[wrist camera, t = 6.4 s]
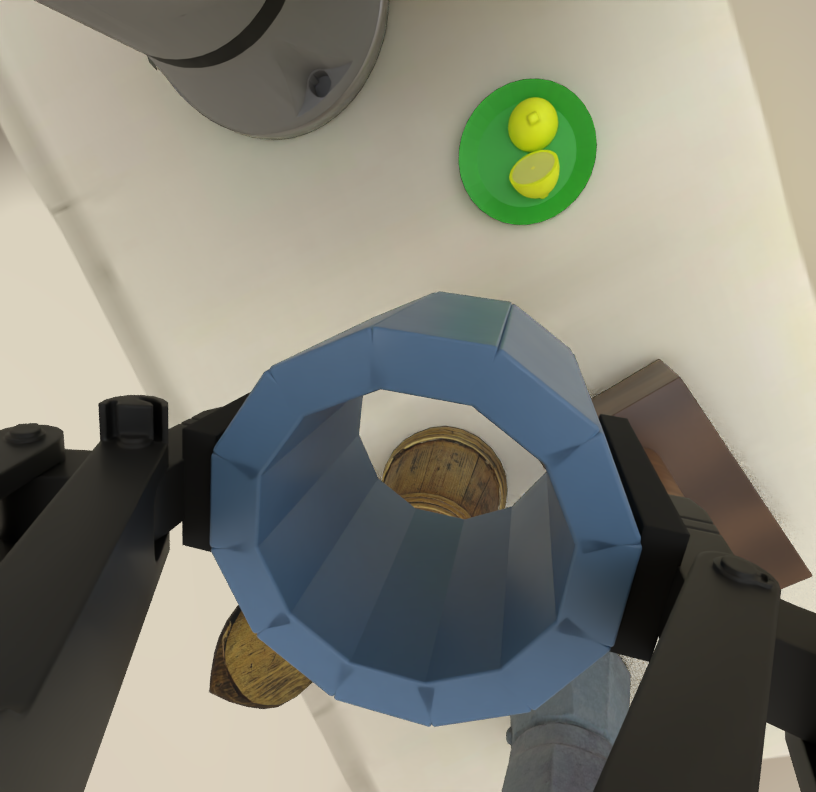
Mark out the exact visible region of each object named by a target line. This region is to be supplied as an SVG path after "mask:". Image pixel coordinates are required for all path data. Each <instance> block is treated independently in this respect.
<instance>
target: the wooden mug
mask: <svg viewBox="0 0 816 792" xmlns="http://www.w3.org/2000/svg"><path fill="white" fill-rule="evenodd" d="M382 482H383V483H385V484H386V485H387V486H388V487H390V488H391V489H392V490H393V491H394V492H396V493H397V494H398V495H399V496H401V497H402V498H403V499H404V500H406V501H407V502H408V503H409V504H411V505H412V506H413V507H414V508H416V509H420V510H425V511H429V512H434V513H438V514H443V515H448V516H452V517H457V518H461V519H468V518H472V517H475V516H479V515H483V514H486V513H490V512H494V511H498V510H501V509H504V508H505V505H506V496H507V484H506V475H505V473H504V470H503V467H502V464H501V462H500V460H499V459H498V457H497V456H496V455H495V453H494V452H493V450H492V449H491V448H490V447H489V446H488V445H487V444H485V443H484V442H483V441H482V440H481V439H480V438H478V437H477V436H475V435H472V434H470V433H468V432H466V431H464V430H462V429H457V428H452V427H448V426H444V427H435V428H429V429H427V430H424V431H421V432H418V433H416V434H414V435H412V436H411V437H409V438H407V439H406V440H404V441H403V442H402V443H401V444H400V445H399V446H398V447H397V448H396V449H395V450H394V451H393V453H392V455H391V457H390V458H389V460H388V462H387V464H386V466H385V470H384V473H383V478H382ZM311 683H312V681H311V680H310V679H309V678H307V677H306V676H305V675H304V674H302V673H301V672H300V671H299V670H297V669H296V668H295V667H294V666H292V665H291V664H290V663H289V662H287V661H286V660H285V659H284V658H282V657H281V656H280V655H279V654H277V653H276V652H275V651H274V650H273V649H271V648H270V647H269V646H268V645H266V644H265V643H264V642H263V641H261V640H260V639H259V638H258V637H257V633H253V632H252V630H251V628H250V626H249V624H248V622H247V620H246V618H245V616H244V614H243V612H242V610H241V608H240V606H239V605H238V606H237V607H236V609H235V610H234V612H233V613H232V614H231V616H230V617H229V618H228V620H227V621H226V623H225V625H224V628H223V630H222V632H221V634H220V636H219V639H218V642H217V645H216V649H215V652H214V658H213V664H212V670H211V677H210V690H209V692H210V693H212V694H214V695H216V696H218V697H220V698H223V699H225V700H227V701H229V702H232V703H236V704H239V705H243V706H246V707H252V708H259V709H267V708H275V707H279V706H280V705H282V704H284V703H286V702H288V701H289V700H291V699H293V698H295V697H297V696H298V695H299V694H300V693H301V692H302V691H303V690H305V689H306V688H307V687H308V686H309V685H310V684H311Z"/></svg>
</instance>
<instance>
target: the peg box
mask: <svg viewBox="0 0 816 792" xmlns="http://www.w3.org/2000/svg"><path fill="white" fill-rule="evenodd" d="M591 400H592V403H593V405H594V408H595V411H596V413H597V416H598V419H599V416H600V414H605V415H610V416H616V417H622V418H627V419H628V421H629V423H630V425H631V426H632V428H633V430H634V432H635V434H636V436H637V437H638V439H639V441H640V443H641V445H642V447H643V449H644V450H645V452H646V454H647V456H648V458H649V460H650V461H651V463H652V465H653V467H654V469H655V471H656V473H657V474H658V476H659V478H660V480H661V482H662V484H663V485H664V487H665V489H666V491H667V493H668V494H670V495H675V496H680V497H685V498H690V499H691V500H692V501H694V502H695V503H696V504H698V505H699V506H700V507H701V508H703V509H704V510H705V511H706V512H707V514H708V515H709V517H710V518H711V520H712V521H713V525H715V526H716V528H717V529H718V531H719V532H720V534H719V535H722V537H723V538H724V540H725V541H726V543H727V544H728V546H729V548H730V549H731V551H732V552H733V554H734V555H735V556H739V557H741V558H744V559H746V560H748V561H750V562H752V563H754V564H756V565H758V566H760V567H761V568H763V569H764V570H766V571H767V572H769V573H770V574H771V575H772V576H773V577H774V578H775V579H776V580H777V581H778V583H779V586H780V589H783V588H785V587H788V586H790V585H793V584H795V583H797V582H800V581H802V580H805V579H807V578H810V577H812V574H811V572H810V571H809V569H808V568H807V566H806V565H805V563H804V562H803V560H802V559H801V557H800V556H799V554H798V553H797V551H796V550H795V548H794V547H793V545H792V544H791V542H790V541H789V539H788V538H787V536H786V535H785V533H784V532H783V530H782V529H781V527H780V526H779V524H778V523H777V521H776V520H775V518H774V517H773V515H772V514H771V512H770V511H769V509H768V508H767V506H766V505H765V503H764V502H763V500H762V499H761V497H760V496H759V494H758V493H757V491H756V490H755V488H754V487H753V485H752V484H751V482H750V481H749V479H748V478H747V476H746V475H745V473H744V472H743V470H742V469H741V467H740V466H739V464H738V463H737V461H736V460H735V458H734V457H733V455H732V454H731V452H730V451H729V449H728V448H727V446H726V445H725V443H724V442H723V440H722V439H721V437H720V436H719V434H718V433H717V431H716V430H715V428H714V427H713V425H712V424H711V422H710V421H709V419H708V418H707V416H706V415H705V413H704V412H703V410H702V409H701V407H700V406H699V404H698V403H697V401H696V400H695V398H694V397H693V395H692V394H691V392H690V391H689V389H688V388H687V386H686V385H685V383H684V382H683V380H682V379H681V377H680V376H679V375H677V374H676V373H675V372H674V371H673V370H672V369H671V368H669V367H668V366H667V365H666V364H665V363H664V362H663V361H661V360H660V359H658V360H657V361H655V362H653V363H652V364H650V365H648V366H647V367H645V368H643V369H642V370H640V371H638V372H636V373H635V374H633V375H631V376H630V377H628V378H626V379H625V380H623V381H621V382H620V383H618V384H616V385H615V386H613V387H611V388H609V389H608V390H606V391H604V392H603V393H601V394H599V395H598V396H596V397H594V398H593V399H591ZM539 461H540V460H539ZM540 462H541V461H540ZM541 464H542V465H543V466H544V468H545V465H544V464H543V463H542V462H541ZM545 469H546V468H545ZM546 471H547V470H546Z"/></svg>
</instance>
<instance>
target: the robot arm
mask: <svg viewBox="0 0 816 792" xmlns="http://www.w3.org/2000/svg"><path fill="white" fill-rule="evenodd" d="M35 1H37V2H39V3H41V4H43V5H45V6H47V7H49V8H51V9H53V10H55V11H57V12H59V13H61V14H63V15H65V16H68V17H70V18H72V19H74V20H76V21H78V22H80V23H82V24H84V25H86V26H88V27H90V28H92V29H94V30H96V31H98V32H100V33H102V34H104V35H106V36H108V37H111V38H113V39H115V40H117V41H119V42H121V43H123V44H125V45H127V46H129V47H131V48H133V49H135V50H137V51H140V52H142V53H144V54H146V55H147V56H148V59H149V62H150V63H151V65H152V66H153V67H154V68H155V69H156V70H157V68H156V66H157V67H158V68H159V70H160V71H161V72H162V73H163V74H164V75H165V76H166V77H167V79H168V80H169V82H170V83H171V84H172V86H173V87H174V88H175V89H176V91H177V92H178V93H179V94H180V95H181V96H182V97H183V98H184V99H185V100H186V101H187V102H188V103H189V104H190V105H191V106H192V107H194V108H195V109H196V110H197V111H199V112H200V113H201V114H202V115H204V116H205V117H207V118H208V119H210V120H211V121H213V122H215V123H217V124H218V125H220V126H223V127H225V128H227V129H230V130H232V131H235V132H238V133H240V134H243V135H246V136H250V137H254V138H260V139H271V140H276V139H287V138H292V137H297V136H300V135H303V134H306V133H309V132H311V131H313V130H315V129H317V128H319V127H321V126H323V125H324V124H326V123H327V122H329V121H330V120H332V119H333V118H334V117H336V116H337V115H338V114H339V113H340V112H341V111H342V110H344V109H345V108H346V107H347V105H348V104H349V103H350V102H351V101H352V100H353V99H354V98H355V96H356V95H357V94H358V92H359V91H360V90H361V88H362V86H363V85H364V83H365V82H366V80H367V79H368V77H369V75H370V73H371V71H372V69H373V67H374V64H375V62H376V60H377V57H378V55H379V52H380V49H381V45H382V42H383V38H384V34H385V30H386V24H387V17H388V8H389V0H35ZM250 393H251V392H250ZM250 393H248V394H246V395H244V396H242V397H240V398H239V399H237V400H235V401H233V402H231V403H229V404H227V405H225V406H224V407H219V408H215V409H211V410H206V411H203V412H201V413H199V414H197V415H195V416H194V417H192V419H188V420H186V421H184V422H182V423H181V424H178V425H176V426H174V427H172V428H170V429H168V402H166V401H165V400H164V399H161V398H157V397H154V396H145V395H127V396H119V397H113V398H110V399H106V400H104V401H102V402H100V403H99V423H100V442H99V444H97V446H96V447H95V448H94V449H93V451H87V450H70V449H69V450H68V449H65V448H64V435H63V431H62V430H61V429H59V428H57V427H53V426H49V425H38V424H37V423H30V424H18V425H16V426H14V427H10V428H5V429H2V430H0V792H84V789H85V787H86V784H87V781H88V778H89V775H90V773H91V770H92V767H93V764H94V761H95V758H96V756H97V753H98V750H99V747H100V744H101V742H102V739H103V736H104V733H105V730H106V727H107V724H108V722H109V719H110V716H111V713H112V711H113V708H114V705H115V702H116V699H117V696H118V694H119V691H120V688H121V685H122V682H123V679H124V677H125V674H126V671H127V668H128V665H129V662H130V660H131V657H132V654H133V651H134V648H135V646H136V643H137V640H138V637H139V634H140V632H141V629H142V626H143V623H144V620H145V617H146V614H147V612H148V609H149V606H150V603H151V601H152V598H153V595H154V592H155V589H156V586H157V584H158V581H159V578H160V575H161V572H162V569H163V567H164V564H165V561H166V558H167V555H168V553H169V550H170V547H169V546H170V543H169V541H170V540H169V531H170V530H172V529H173V528H174V527H175V526H177V525H178V524H179V523H181V522H182V524H183V525H182V528H183V531H182V536H183V545H185V546H189V547H193V548H197V549H202V550H205V551H210V552H211V549H212V547H211V546H210V491H211V455H212V453H213V452H214V451H213V449H214V447H215V445H216V444H217V442H218V441H219V439H220V438H221V436H222V435H223V433H224V432H225V430H226V429H227V427H228V426H229V424H230V423H231V421H232V420H233V418H234V417H235V415H236V414H237V412H238V411H239V409H240V408H241V406H242V405H243V403H244V402H245V400H246V399H247V397H248V396H249V394H250ZM599 421H600V424H601V427H602V429H603V432H604V434H605V437H606V440H607V443H608V446H609V448H610V451H611V454H612V457H613V460H614V463H615V465H616V468H617V471H618V474H619V477H620V480H621V482H622V485H623V488H624V491H625V494H626V497H627V499H628V502H629V505H630V508H631V511H632V514H633V516H634V519H635V522H636V525H637V528H638V531H639V533H640V536H641V541H640V543H641V545H642V551H641V554H640V557H639V561H638V564H637V568H636V571H635V575H634V578H633V582H632V585H631V589H630V592H629V595H628V599H627V602H626V606H625V609H624V613H623V616H622V620H621V623H620V626H619V630H618V633H617V637H616V640H615V644H614V646H613V647H611V649H610V651H609V652H613V653H617V654H621V655H625V656H629V657H633V658H637V659H641V660H645V661H649V664H648V666H647V669H646V671H645V673H644V676H643V678H642V680H641V682H640V685H639V687H638V689H637V692H636V694H635V696H634V699H633V701H632V703H631V705H630V708H629V710H628V712H627V715H626V717H625V719H624V722H623V724H622V726H621V728H620V731H619V733H618V735H617V738H616V740H615V742H614V744H613V747H612V749H611V751H610V754H609V756H608V758H607V761H606V763H605V765H604V767H603V770H602V772H601V774H600V777H599V779H598V781H597V784H596V786H595V788H594V790H593V792H758V790H759V781H760V773H761V764H762V755H763V746H764V737H765V728H766V722H767V723H769V724H771V725H773V726H775V727H777V728H780V729H782V730H784V731H785V740H786V743H787V746H788V750H789V753H790V757H791V760H792V763H793V767H794V770H795V774H796V777H797V780H798V784H799V787H800V791H801V792H816V613H814V612H811V611H809V610H806V609H803V608H801V607H798V606H796V605H793V604H791V603H789V602H786V601H784V600H782V599H780V595H781V589H780V586H779V583H778V581H777V580H776V579H775V578H774V577H773V576H772V575H771V574H770V573H769V572H767V571H766V570H764V569H763V568H761V567H760V566H758V565H756V564H754V563H752V562H750V561H748V560H746V559H744V558H741V557H739V556H735V555H734V554H733V552H732V551H731V549H730V548H729V546H728V544H727V543H726V541H725V540H724V538H723V537H722V535H719V534H720V532H719V531H718V529H717V528H716V526H715V525H713V521H712V520H711V518H710V517H709V515H708V514H707V512H706V511H705V510H704V509H703V508H701V507H700V506H699V505H698V504H696V503H695V502H694V501H692V500H691V499H690V498H685V497H680V496H675V495H670V494H668V493H667V491H666V489H665V487H664V485H663V484H662V482H661V480H660V478H659V476H658V474H657V473H656V471H655V469H654V467H653V465H652V463H651V461H650V460H649V458H648V456H647V454H646V452H645V450H644V449H643V447H642V445H641V443H640V441H639V439H638V437H637V436H636V434H635V432H634V430H633V428H632V426H631V425H630V423H629V421H628V419H627V418H622V417H616V416H610V415H605V414H600V416H599ZM658 636H659V641H658V643H657V646H656V648H655V645H656V642H657V639H658ZM654 648H655V650H654ZM653 651H654V653H653Z"/></svg>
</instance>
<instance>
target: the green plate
mask: <svg viewBox="0 0 816 792" xmlns="http://www.w3.org/2000/svg"><path fill="white" fill-rule="evenodd" d="M596 148H597V143H596V132H595V128H594V125H593V121H592V118H591V116H590V114H589V112H588V110H587V109H586V107H585V105H584V104H583V103H582V101H581V100H580V99H579V98H578V97H577V96H576V95H575V94H574V93H573V92H571V91H570V90H568V89H567V88H566V87H564V86H562V85H560V84H557V83H555V82H553V81H549V80H543V79H523V80H519V81H515V82H512V83H509V84H507V85H505V86H503V87H501V88H499V89H497V90H495V91H494V92H493V93H491V94H490V95H489V96H487V97H486V98H485V99H484V100H483V101H482V102H481V103H480V104H479V106H478V107H477V108H476V109H475V110H474V112H473V114H472V115H471V117H470V118H469V120H468V121H467V124H466V126H465V129H464V131H463V134H462V137H461V142H460V147H459V169H460V175H461V179H462V181H463V184H464V187H465V189H466V191H467V193H468V195H469V196H470V198H471V200H472V201H473V202H474V203H475V204H476V205H477V206H478V207H479V209H480V210H482V211H483V212H485V213H486V214H487V215H489V216H490V217H492V218H494V219H497V220H499V221H501V222H505V223H509V224H514V225H528V224H533V223H538V222H542V221H545V220H547V219H549V218H552V217H554V216H556V215H557V214H559V213H560V212H562V211H563V210H565V209H566V208H567V207H568V206H569V205H570V204H571V203H572V202H574V201H575V200H576V198H577V197H578V196H579V194H580V193H581V192H582V190H583V189H584V188H585V186H586V184H587V182H588V180H589V178H590V176H591V173H592V170H593V166H594V163H595V158H596Z"/></svg>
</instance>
